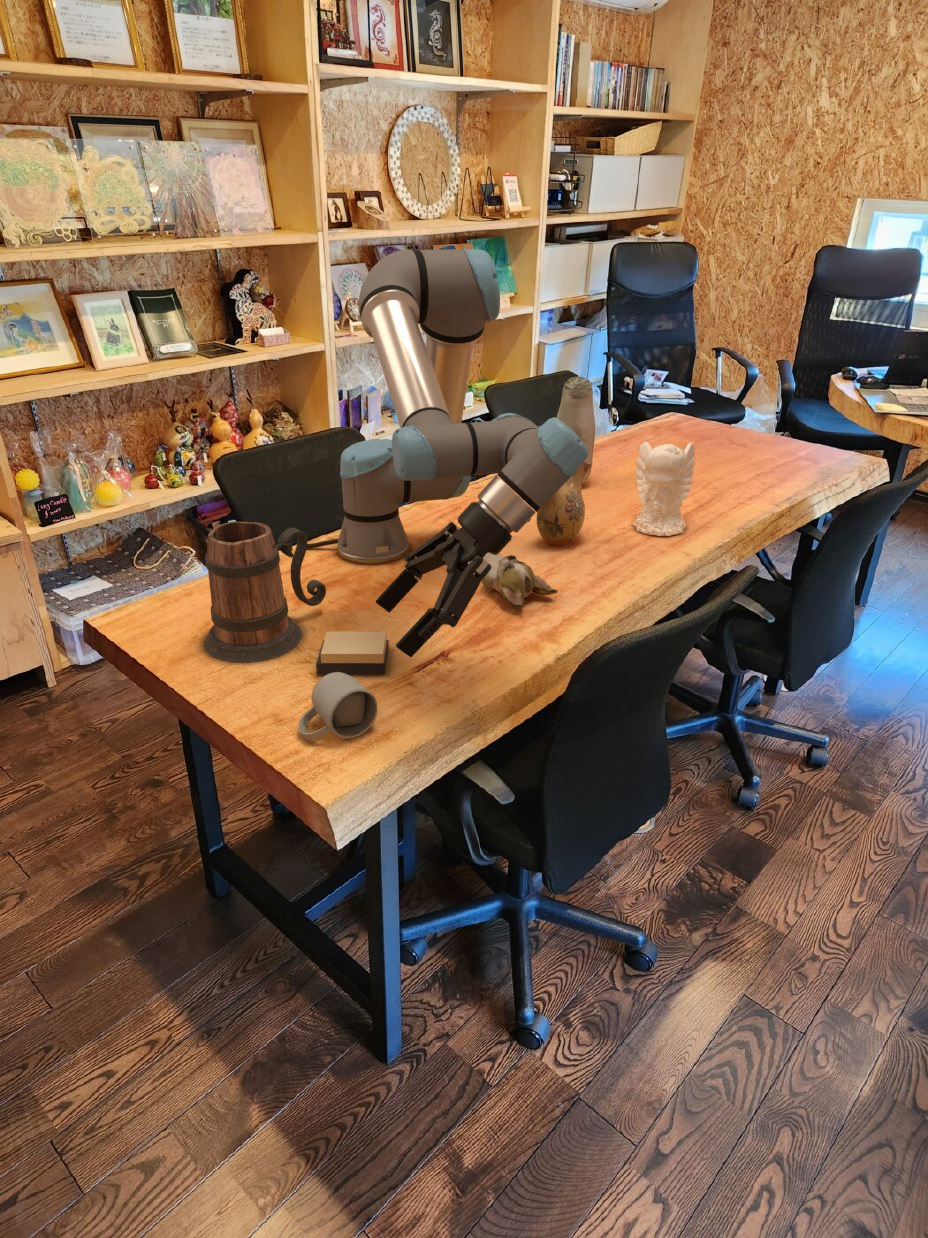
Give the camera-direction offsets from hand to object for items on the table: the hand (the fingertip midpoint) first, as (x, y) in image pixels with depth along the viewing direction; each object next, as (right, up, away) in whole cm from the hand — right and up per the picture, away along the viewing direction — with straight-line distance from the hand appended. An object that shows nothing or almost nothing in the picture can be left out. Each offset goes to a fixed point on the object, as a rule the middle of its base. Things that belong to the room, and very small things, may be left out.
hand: (391, 628), depth 117 cm
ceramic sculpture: (+20, +5, +43) cm, 47 cm away
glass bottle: (+39, +37, +102) cm, 115 cm away
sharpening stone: (-8, -6, +21) cm, 23 cm away
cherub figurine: (+55, +22, +75) cm, 96 cm away
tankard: (-24, -1, +30) cm, 39 cm away
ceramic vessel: (+31, +18, +67) cm, 76 cm away
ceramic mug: (-8, -15, +4) cm, 18 cm away
